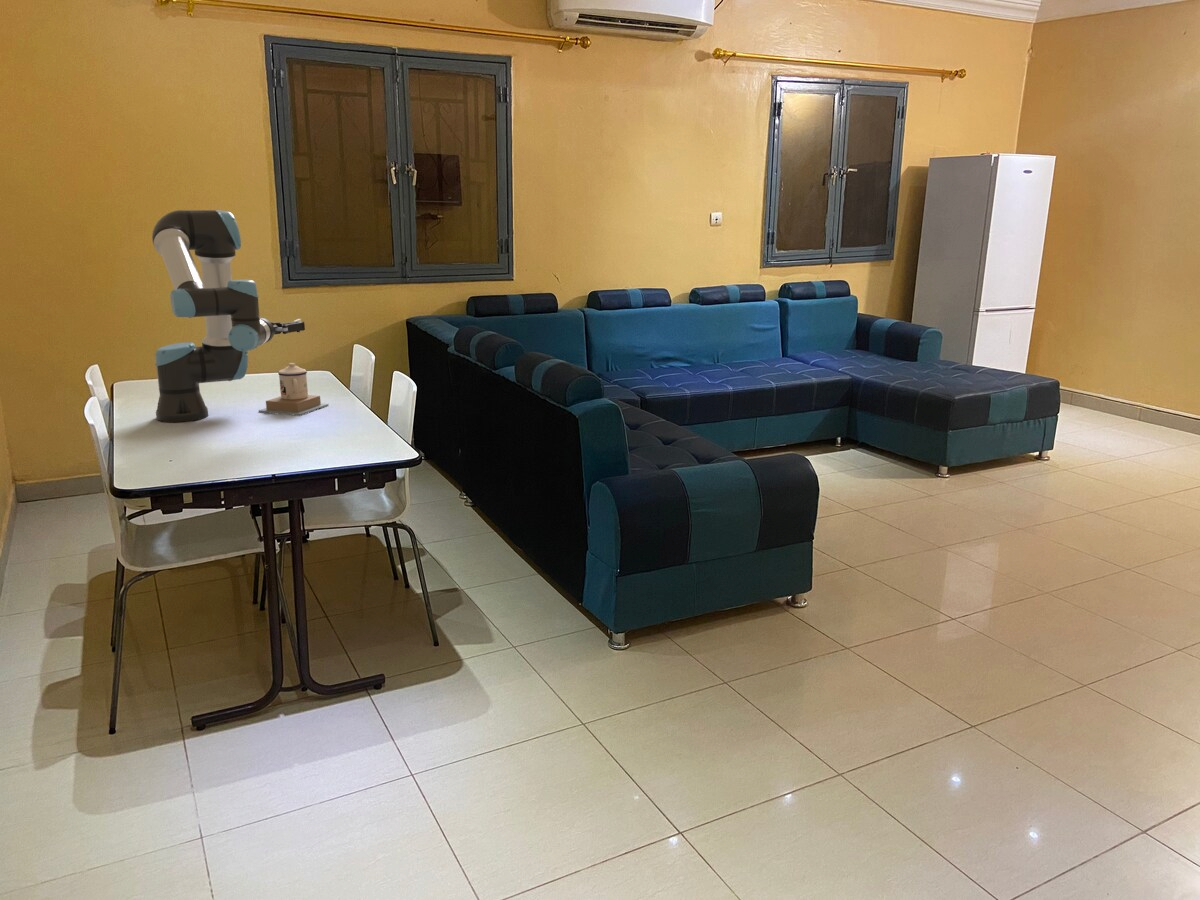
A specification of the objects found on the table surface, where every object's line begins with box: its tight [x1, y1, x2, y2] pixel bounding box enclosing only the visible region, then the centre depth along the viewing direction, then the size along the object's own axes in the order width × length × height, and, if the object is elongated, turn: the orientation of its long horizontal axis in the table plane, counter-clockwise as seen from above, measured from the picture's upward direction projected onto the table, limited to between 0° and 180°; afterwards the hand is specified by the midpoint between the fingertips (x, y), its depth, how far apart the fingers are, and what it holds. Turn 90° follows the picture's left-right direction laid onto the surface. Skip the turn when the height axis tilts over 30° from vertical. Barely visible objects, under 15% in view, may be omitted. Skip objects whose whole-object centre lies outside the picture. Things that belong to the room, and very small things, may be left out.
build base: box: [258, 394, 329, 416], centre depth 294 cm, size 16×16×4 cm
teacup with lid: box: [278, 362, 309, 400], centre depth 292 cm, size 12×9×12 cm
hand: (278, 323), depth 278 cm, fingers open, 13 cm apart
